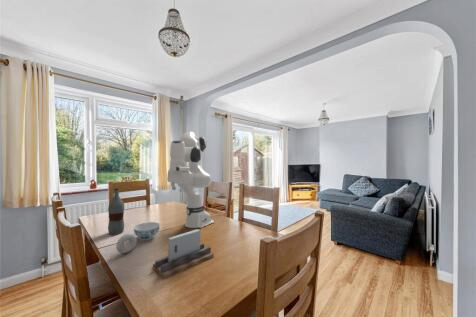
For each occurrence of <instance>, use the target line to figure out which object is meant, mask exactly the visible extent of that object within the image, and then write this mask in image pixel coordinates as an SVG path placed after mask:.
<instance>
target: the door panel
mask: <svg viewBox="0 0 476 317" xmlns="http://www.w3.org/2000/svg"><path fill="white" fill-rule="evenodd" d="M167 241H168V242H167V244H168V245H167V250H168V251H167V254H168V255H167V256H168V262H171V261H173V260H176V259H178V258H181V257H183V256H186V255H188V254H191V253H193V252H196V251H198V250H200V244H201V230H200V229H199V228H195V229H194V230H190V231H187V232H184V233H180V234H178V235H177V234H176V235H173V236H171V237H168V238H167Z"/></svg>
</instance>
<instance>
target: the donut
mask: <svg viewBox="0 0 476 317" xmlns="http://www.w3.org/2000/svg"><path fill="white" fill-rule="evenodd" d="M127 241H129V243H128V245H126V246H125V243H126V242H127ZM137 242H138V240H137V237H136V236H135V235H134V234H132V233H126V234H124V235H121V236H120V238H119V239H118V240H117V241H116V245H115V247H116V250H117V252H118V253H120V254H125V255H126V254H128V253H130V252H131V251H133V250H134V248H135V247H136V245H137Z"/></svg>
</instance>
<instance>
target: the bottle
mask: <svg viewBox="0 0 476 317" xmlns="http://www.w3.org/2000/svg"><path fill="white" fill-rule="evenodd" d="M113 189H114V192H113V197H112V199H111V200H110V202H109V204H108V206H107V207H108V208H107V211H108V212H107V213H108V224H107V225H108V227H107V229H108V230H107V231H108V235H110V236H116V235H120V234H122V233H123V232H124V229H125V221H124V214H125V203H124V201H123V200H122V198H121V197H120V190H119V189H120V188H119V187H114V188H113Z"/></svg>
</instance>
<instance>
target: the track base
mask: <svg viewBox="0 0 476 317" xmlns="http://www.w3.org/2000/svg"><path fill="white" fill-rule="evenodd" d="M213 257H214V252H212V248H211V246H206V247H205V243H203V242H201V243H200V250H198V251H196V252H193V253H191V254H188V255H186V256H183V257H181V258H178V259H176V260H173V261H171V262H168V255H167V256H165V257H162V258H160V259H159V258H158V259H156V260H155V261H154V263H153V264H152V269H154V270H155V271H156V273H157V272H158V274H159V275H160V276H161V277H162V278H164V279H167V278H170V277H172V276H174V275H177V274H178V273H180V272H183V271H184V270H187V269H189V268H192V267H194V266H196V265H197V264H200V263H202V262H204V261H207V260H209V259H212V258H213Z"/></svg>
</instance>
